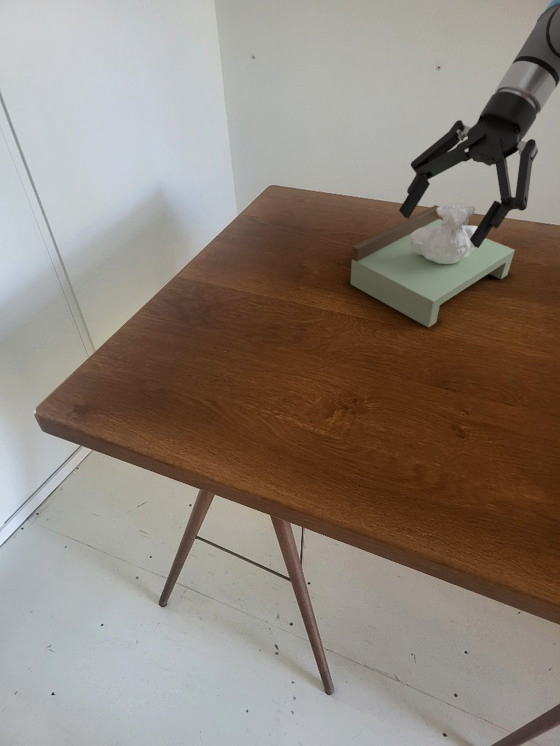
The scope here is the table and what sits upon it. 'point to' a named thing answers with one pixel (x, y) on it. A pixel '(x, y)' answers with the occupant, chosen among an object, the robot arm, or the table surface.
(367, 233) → the table surface
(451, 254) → the bust
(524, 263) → the table surface
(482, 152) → the robot arm
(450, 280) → the shoe shelf
